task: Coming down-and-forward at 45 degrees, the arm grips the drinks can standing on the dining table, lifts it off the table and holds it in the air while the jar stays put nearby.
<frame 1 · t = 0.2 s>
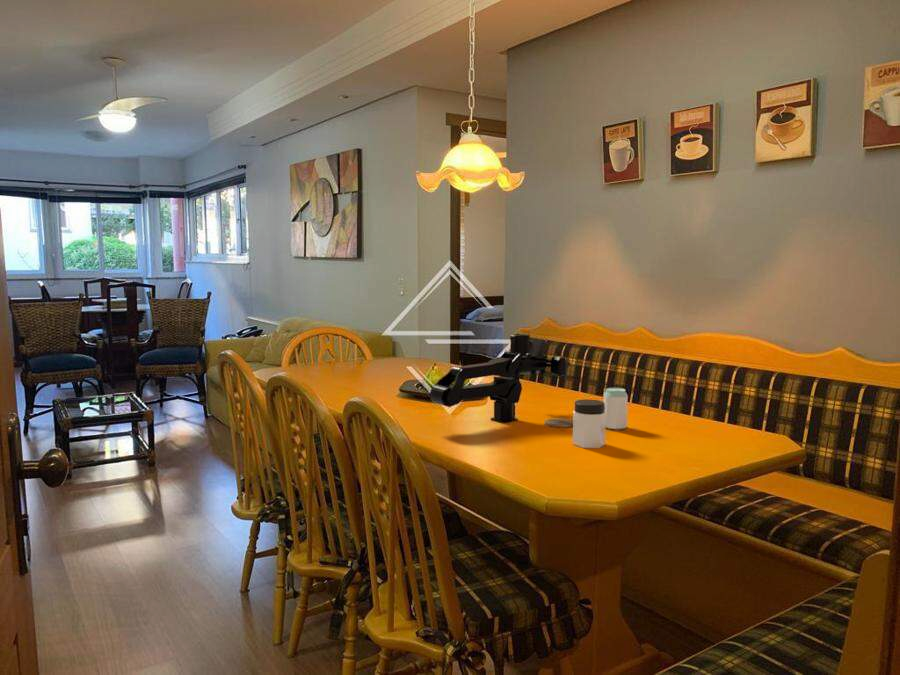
hand: (560, 362, 231), 17 cm above the table, tool horizontal, fingers open, 9 cm apart
coaster: (560, 424, 212), on the table
can: (614, 428, 207), on the table
jar: (588, 445, 188), on the table
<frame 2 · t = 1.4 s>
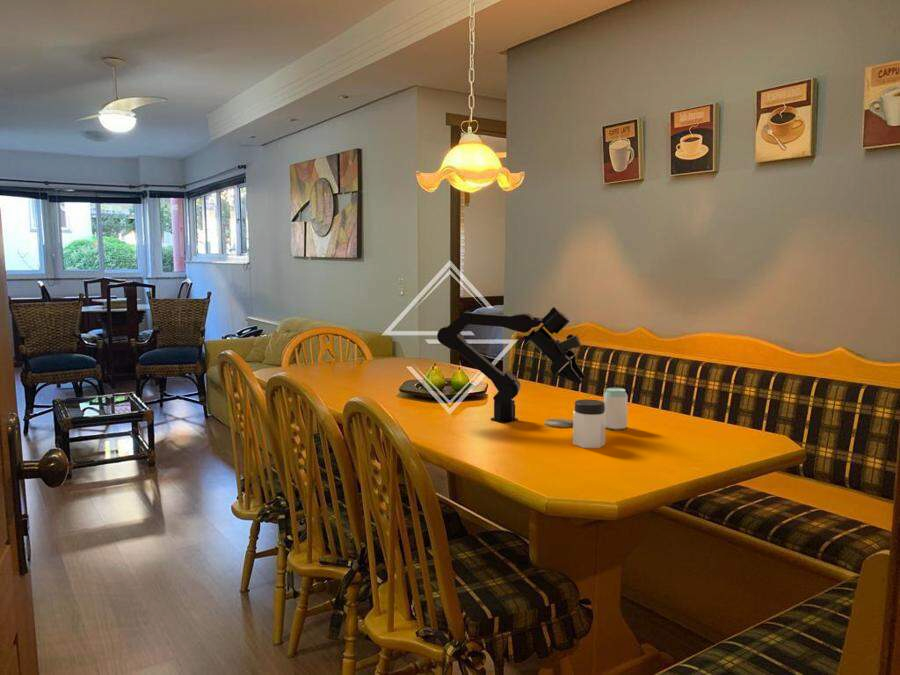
hand: (582, 380, 209), 14 cm above the table, tool tilted 45°, fingers open, 9 cm apart
nothing on the table moved.
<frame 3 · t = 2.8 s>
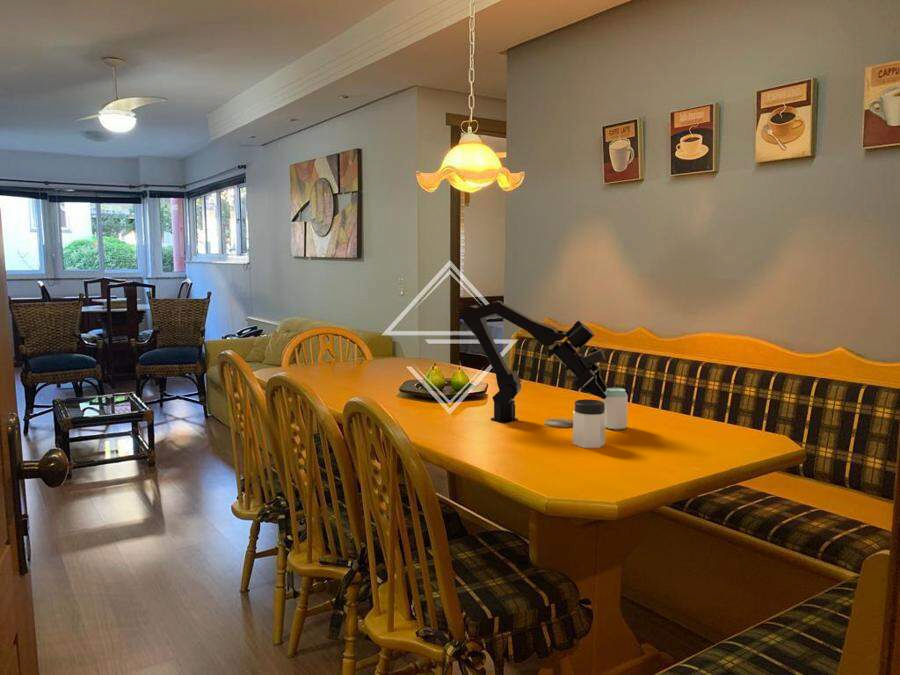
hand: (606, 395, 207), 10 cm above the table, tool tilted 45°, fingers open, 9 cm apart
nothing on the table moved.
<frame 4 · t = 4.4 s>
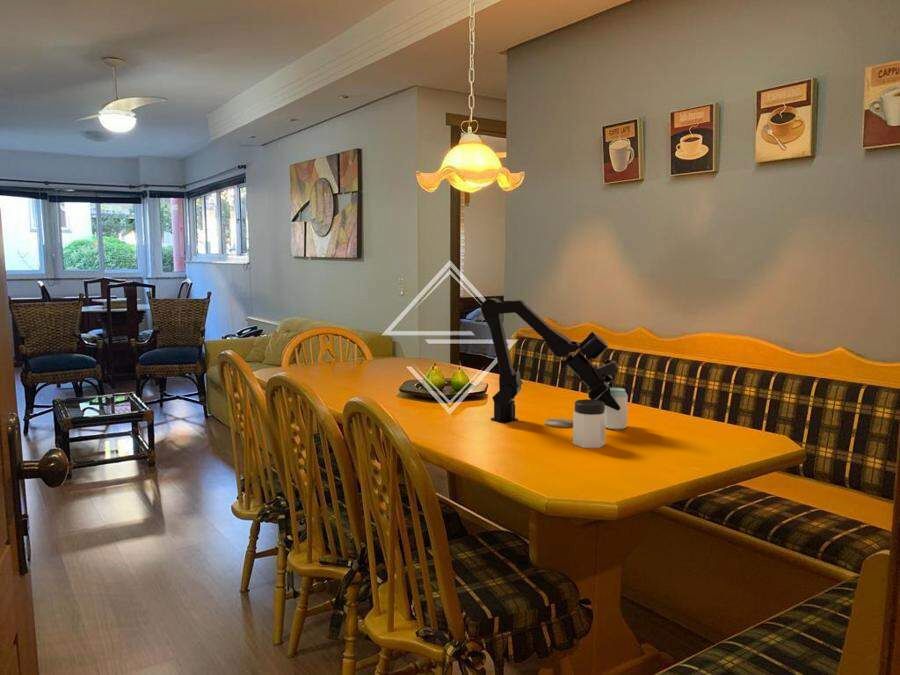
hand: (620, 406, 206), 7 cm above the table, tool tilted 45°, fingers closed on can, 7 cm apart
can: (614, 428, 207), on the table, touching gripper
everything else where it was.
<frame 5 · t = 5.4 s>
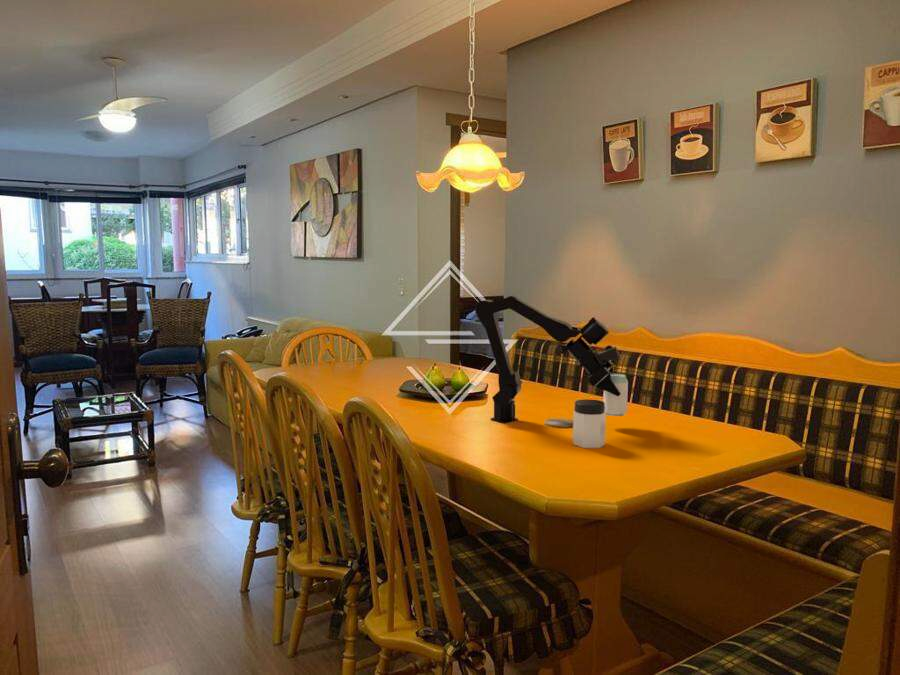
hand: (620, 392, 205), 11 cm above the table, tool tilted 45°, fingers closed on can, 7 cm apart
can: (614, 414, 206), point 4 cm above the table, touching gripper
everything else where it was.
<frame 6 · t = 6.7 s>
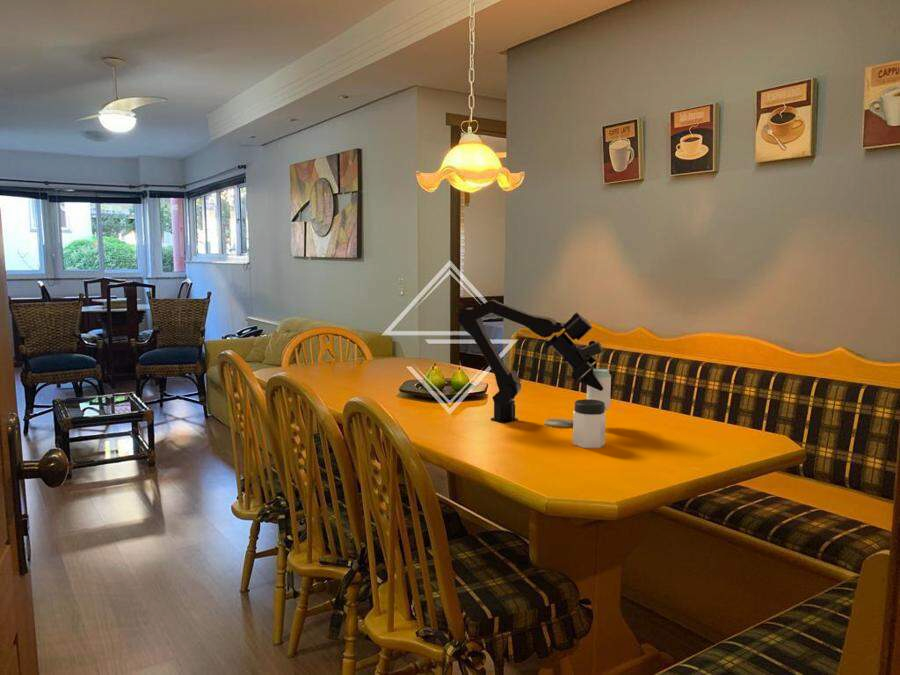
hand: (603, 387, 207), 12 cm above the table, tool tilted 45°, fingers closed on can, 7 cm apart
can: (598, 409, 208), point 5 cm above the table, touching gripper
everything else where it was.
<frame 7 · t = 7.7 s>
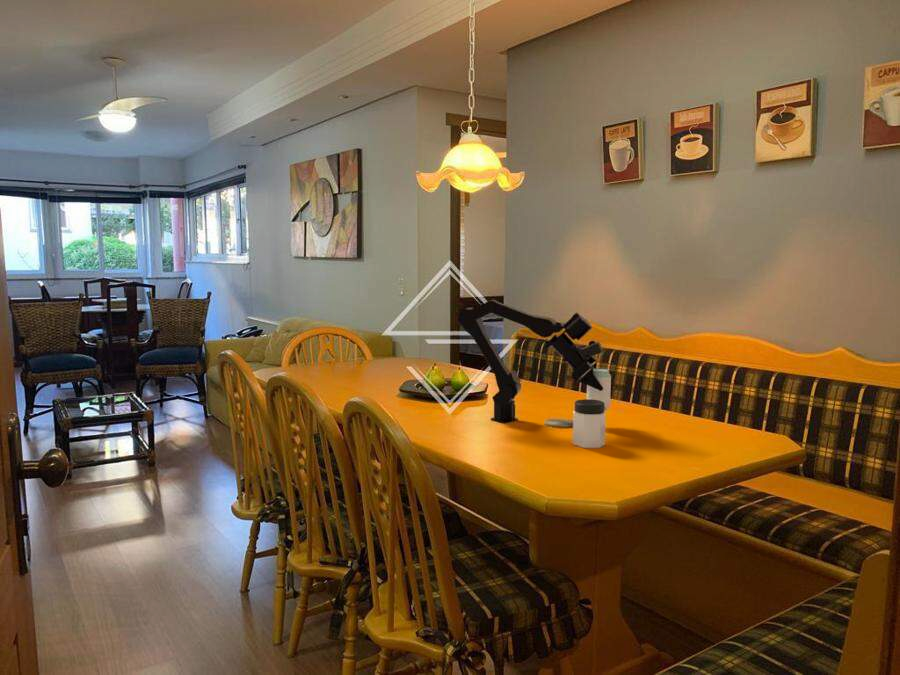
hand: (603, 387, 207), 12 cm above the table, tool tilted 45°, fingers closed on can, 7 cm apart
can: (598, 409, 208), point 5 cm above the table, touching gripper
everything else where it was.
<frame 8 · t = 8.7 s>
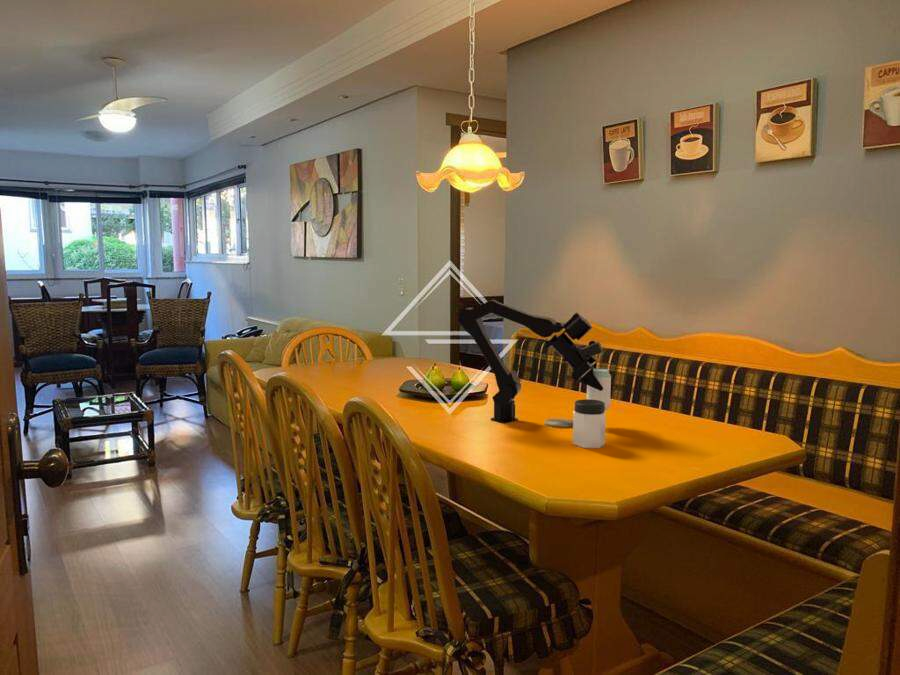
hand: (603, 387, 207), 12 cm above the table, tool tilted 45°, fingers closed on can, 7 cm apart
can: (598, 409, 208), point 5 cm above the table, touching gripper
everything else where it was.
at the end: the gripper is holding can; can point 5.5 cm above the table; can touching gripper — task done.
